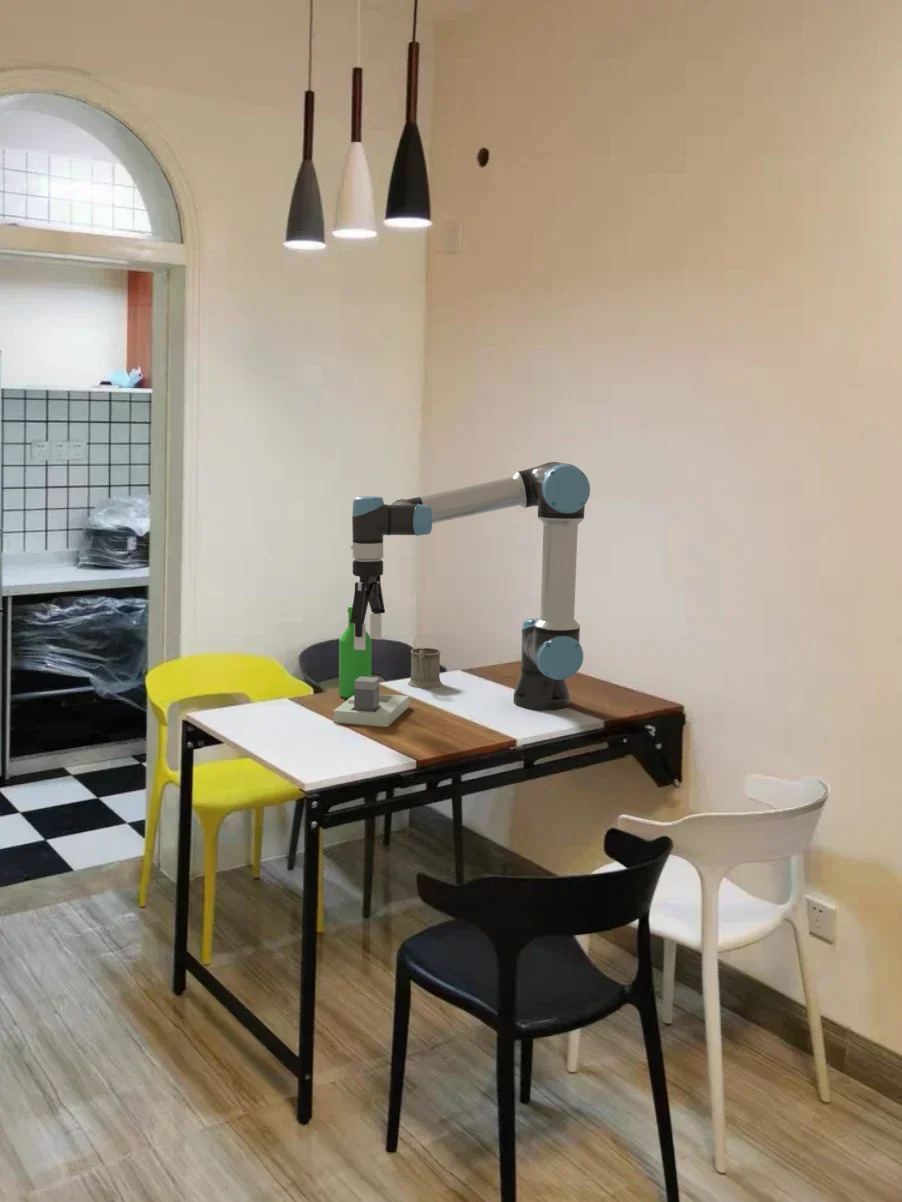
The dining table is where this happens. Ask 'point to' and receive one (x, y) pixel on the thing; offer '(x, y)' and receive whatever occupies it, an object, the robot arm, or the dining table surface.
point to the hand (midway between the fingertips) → (368, 644)
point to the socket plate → (382, 717)
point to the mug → (425, 668)
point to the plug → (366, 694)
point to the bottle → (352, 660)
